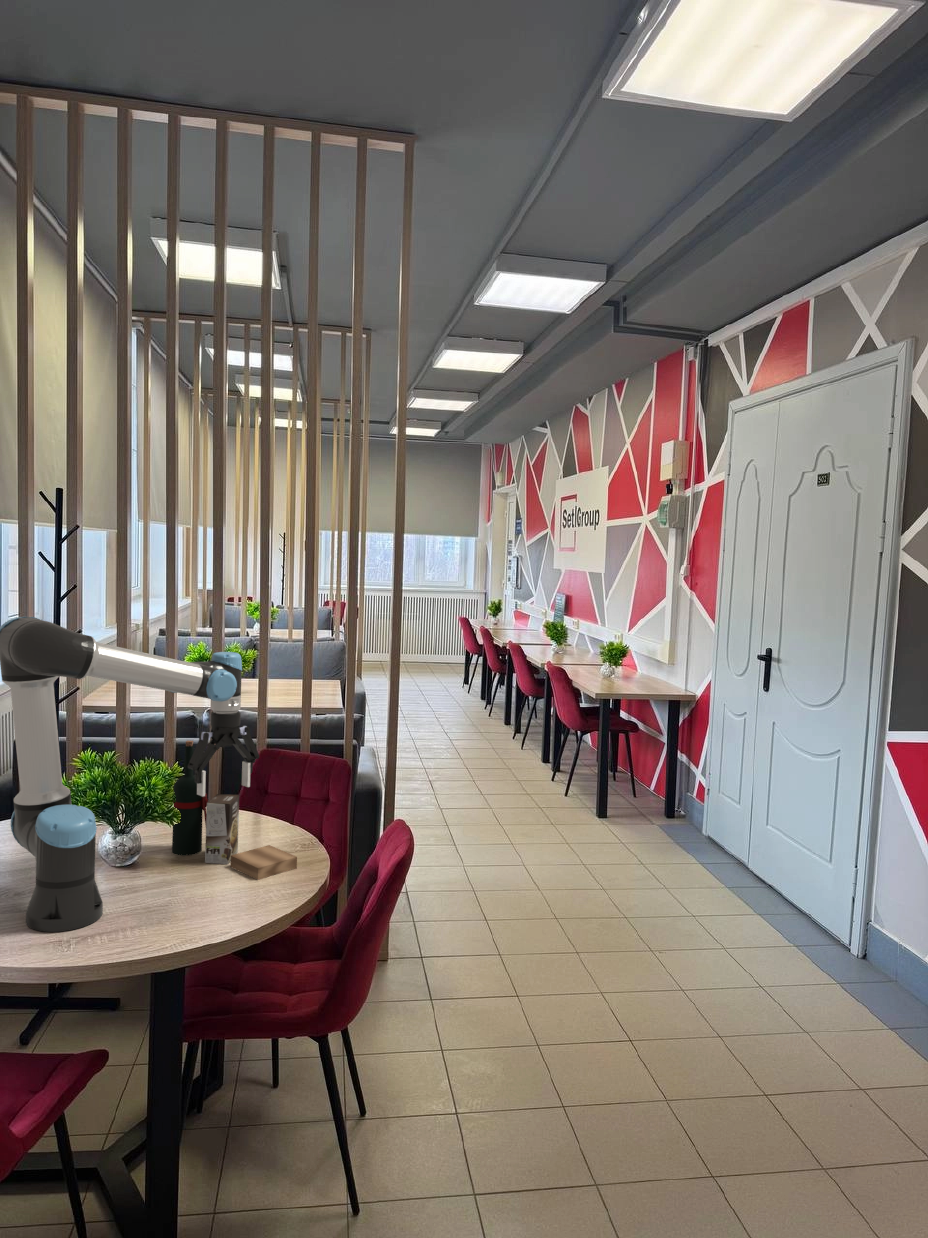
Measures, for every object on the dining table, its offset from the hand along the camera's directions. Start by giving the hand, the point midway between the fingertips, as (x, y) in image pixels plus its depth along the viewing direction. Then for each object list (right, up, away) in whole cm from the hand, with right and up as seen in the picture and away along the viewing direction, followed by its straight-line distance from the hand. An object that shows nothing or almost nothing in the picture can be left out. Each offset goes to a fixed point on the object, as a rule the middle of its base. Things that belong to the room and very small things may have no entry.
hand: (223, 790), depth 222 cm
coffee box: (-1, -18, +1) cm, 18 cm away
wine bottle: (-10, -18, +5) cm, 21 cm away
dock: (+12, -19, -4) cm, 23 cm away
